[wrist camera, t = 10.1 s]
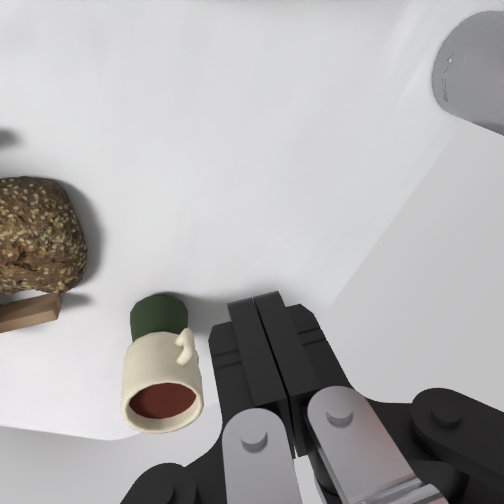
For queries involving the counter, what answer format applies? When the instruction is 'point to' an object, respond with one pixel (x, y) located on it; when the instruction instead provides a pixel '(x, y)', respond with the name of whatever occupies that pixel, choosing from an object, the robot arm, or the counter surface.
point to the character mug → (161, 368)
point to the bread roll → (38, 238)
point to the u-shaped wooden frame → (29, 312)
